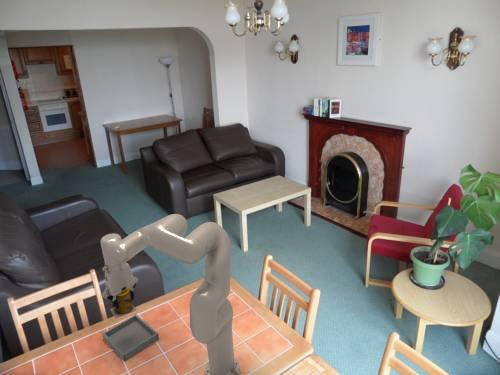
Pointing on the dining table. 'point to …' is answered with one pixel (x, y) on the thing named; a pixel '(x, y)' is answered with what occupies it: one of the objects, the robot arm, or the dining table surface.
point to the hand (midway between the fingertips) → (123, 302)
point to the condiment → (123, 304)
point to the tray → (130, 337)
